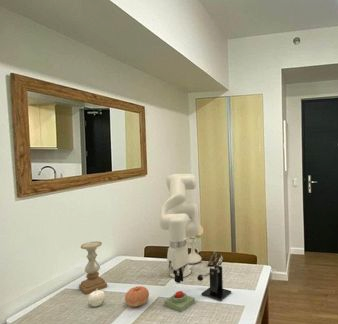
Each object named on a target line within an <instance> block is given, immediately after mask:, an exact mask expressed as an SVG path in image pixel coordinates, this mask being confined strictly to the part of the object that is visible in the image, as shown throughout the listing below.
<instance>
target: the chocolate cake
mask: <svg viewBox="0 0 338 324" xmlns="http://www.w3.org/2000/svg"><path fill="white" fill-rule="evenodd" d="M223 259H224V258H223V255H222V254H219V253H217V252H216V250H214V251H213V253H212V254H211V257H210V259H209V261H208V263H207V267H210V266H213V267H214V266H215V265H217V266H219V265H222V264H221V263H222V262H223Z"/></svg>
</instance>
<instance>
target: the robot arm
mask: <svg viewBox="0 0 338 324" xmlns="http://www.w3.org/2000/svg"><path fill="white" fill-rule="evenodd" d="M165 183H166V186H167V189H168V192H169V198H167V200H165V202H164V203H163V204H162V206H161V208H160V212H159V226H160V227H159V228H160V229H161V230H163V231H167V230H168V232H169V233H168V234H169V237H168V238H169V247H168V248H167V255H166V268H167V269H168V273H169V276H170V277H171V278H174V282H175V283H178V284H181V282H183V281H184V278H185V277H188V276H190V275H191V274H192V269H191V268H189V263H188V255H189V248H188V247H189V244H188V242H187V238H189V237H191V238H192V237H195V236H197V235H198V234H199V225H200V217H199V215H200V214H199V207H198V206H199V205H198V204H197V203H196V202H191V201H190V202H187V201H186V198H187V197H186V196H187V195H186V190H187V191H188V190H195V189H196V187H197V178H196V175H195V174H194V173H173V174H169V175H167V176H166V177H165ZM170 210H171V213H168V212H169V211H170Z"/></svg>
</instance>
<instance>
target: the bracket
mask: <svg viewBox="0 0 338 324" xmlns="http://www.w3.org/2000/svg"><path fill="white" fill-rule="evenodd" d="M217 267H218V268H219V270H220V272H219V273H218V270H217V269H215V268H217ZM209 273H210V275H209V287H208V288H207V289H205V290H204V291H202V292H201V296H203V297H205V298H209V299H213V300H216V301H219V302H222V301H223V300H225V299H226V298H227V297H229V295H231V294H232V290H229V289H226V288H224V286H223V284H224V283H223V266H221V265H215V266H213V267H210V268H209Z"/></svg>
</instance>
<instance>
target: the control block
mask: <svg viewBox="0 0 338 324" xmlns="http://www.w3.org/2000/svg"><path fill="white" fill-rule="evenodd" d="M195 299H196V298H195V297H192V296H189V295H187V293H186V292H183V297H182V298H176V295H175V293H174V294H172V295H171V296H170V297H169V298H167V299H165V300H164V301H163V303H164V305H163V306H165V307H168V308H170V309H174V310H176V311H178V312H183V311H185V310H186V309H188V308H189V307H190V306H192V305H193V304H195V301H196V300H195Z"/></svg>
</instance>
